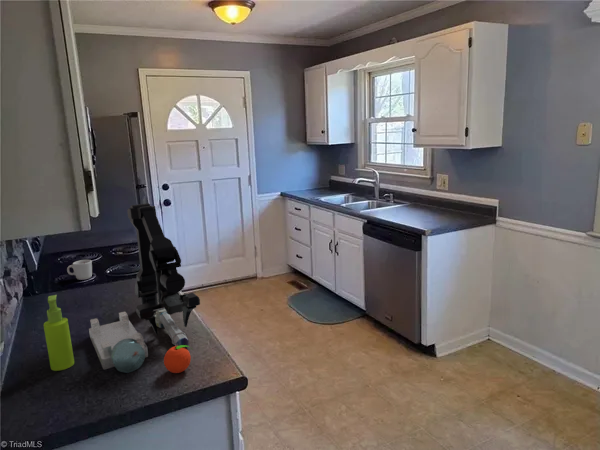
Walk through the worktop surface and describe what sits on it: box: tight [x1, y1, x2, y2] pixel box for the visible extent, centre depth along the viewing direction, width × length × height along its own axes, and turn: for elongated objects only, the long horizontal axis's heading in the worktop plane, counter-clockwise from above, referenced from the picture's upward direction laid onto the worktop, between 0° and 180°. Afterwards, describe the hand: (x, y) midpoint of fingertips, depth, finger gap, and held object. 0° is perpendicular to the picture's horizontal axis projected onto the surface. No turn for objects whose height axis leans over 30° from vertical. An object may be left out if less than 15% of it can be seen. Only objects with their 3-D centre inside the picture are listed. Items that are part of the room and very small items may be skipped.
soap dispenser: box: [43, 294, 75, 372], centre depth 120 cm, size 6×7×20 cm
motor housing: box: [88, 311, 149, 374], centre depth 128 cm, size 31×12×8 cm, turn 33°
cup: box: [66, 259, 93, 281], centre depth 200 cm, size 11×8×8 cm
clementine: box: [163, 345, 193, 374], centre depth 115 cm, size 8×7×7 cm
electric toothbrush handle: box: [154, 309, 190, 349], centre depth 137 cm, size 5×7×25 cm
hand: (171, 330), depth 138 cm, fingers open, 9 cm apart
